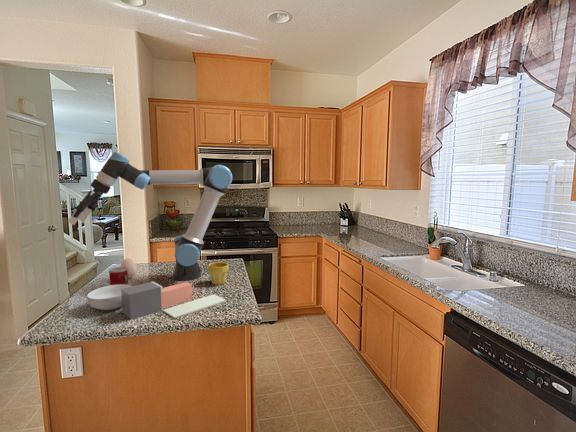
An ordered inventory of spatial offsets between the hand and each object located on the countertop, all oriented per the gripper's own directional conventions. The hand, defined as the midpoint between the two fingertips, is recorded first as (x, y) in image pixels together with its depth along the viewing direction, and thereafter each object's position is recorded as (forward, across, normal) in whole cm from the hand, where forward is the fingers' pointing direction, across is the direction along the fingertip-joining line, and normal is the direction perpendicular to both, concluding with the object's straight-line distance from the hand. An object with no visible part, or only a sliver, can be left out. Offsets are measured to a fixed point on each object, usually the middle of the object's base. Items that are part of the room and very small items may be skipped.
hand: (76, 221), depth 141 cm
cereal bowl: (+20, +18, +33) cm, 43 cm away
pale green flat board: (+1, +29, +61) cm, 68 cm away
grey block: (+13, +28, +44) cm, 54 cm away
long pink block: (+8, +23, +52) cm, 57 cm away
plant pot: (-6, +1, +71) cm, 72 cm away
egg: (+20, -22, +33) cm, 44 cm away
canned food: (+20, -2, +32) cm, 38 cm away
